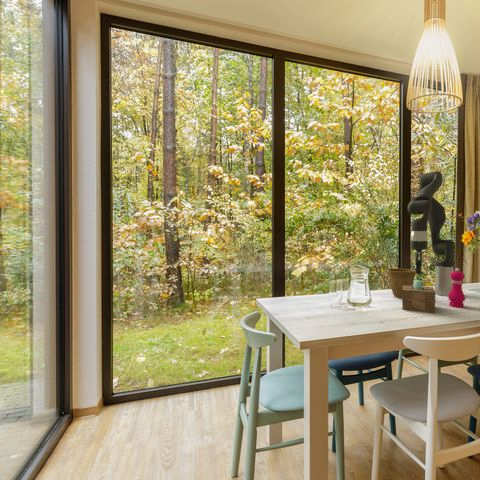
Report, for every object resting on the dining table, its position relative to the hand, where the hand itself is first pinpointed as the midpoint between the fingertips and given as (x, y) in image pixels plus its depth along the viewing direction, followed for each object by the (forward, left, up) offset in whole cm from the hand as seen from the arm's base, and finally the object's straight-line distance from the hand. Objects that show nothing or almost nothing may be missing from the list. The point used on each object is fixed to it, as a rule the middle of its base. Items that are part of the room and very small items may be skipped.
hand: (418, 273), depth 159 cm
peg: (0, 0, -13) cm, 13 cm away
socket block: (0, 0, -18) cm, 18 cm away
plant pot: (-23, -8, -18) cm, 30 cm away
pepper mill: (-12, +18, -18) cm, 28 cm away
